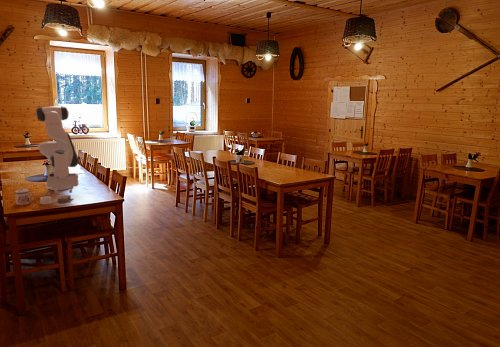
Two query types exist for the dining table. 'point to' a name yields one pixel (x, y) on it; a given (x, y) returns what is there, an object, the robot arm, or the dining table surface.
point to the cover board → (64, 198)
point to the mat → (67, 202)
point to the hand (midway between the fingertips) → (63, 192)
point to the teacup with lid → (22, 196)
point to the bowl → (45, 200)
